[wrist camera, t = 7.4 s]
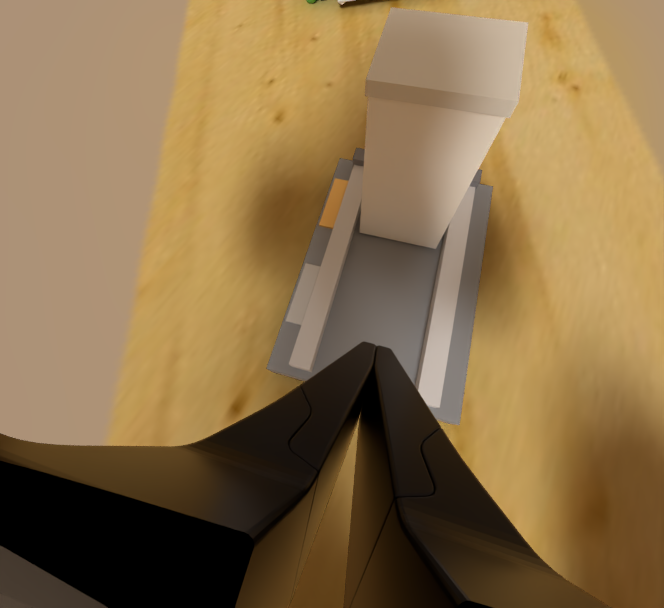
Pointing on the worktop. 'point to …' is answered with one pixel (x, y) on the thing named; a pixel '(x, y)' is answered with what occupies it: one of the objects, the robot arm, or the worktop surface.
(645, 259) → the worktop surface
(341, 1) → the robot kit
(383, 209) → the slider tab
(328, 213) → the switch base
